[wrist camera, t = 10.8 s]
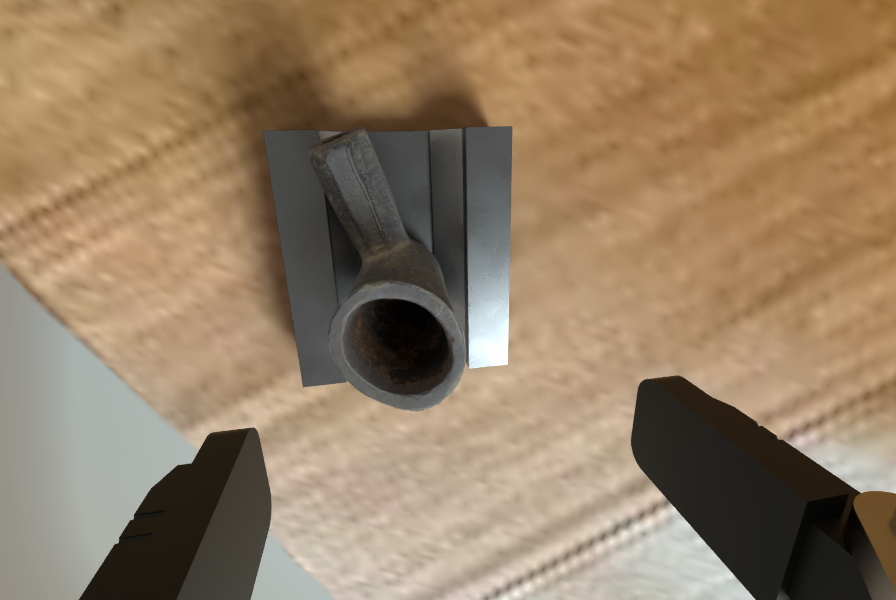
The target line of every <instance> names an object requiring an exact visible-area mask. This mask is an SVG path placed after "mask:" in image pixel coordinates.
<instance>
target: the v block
mask: <svg viewBox="0 0 896 600" xmlns="http://www.w3.org/2000/svg"><path fill="white" fill-rule="evenodd" d="M339 133H341V132H336V131H318V130H280V131H263V134H264V140H265V147H266V153H267V160H268V166H269V172H270V179H271V185H272V192H273V198H274V204H275V211H276V217H277V224H278V230H279V236H280V243H281V249H282V256H283V262H284V268H285V275H286V281H287V288H288V294H289V300H290V307H291V313H292V320H293V326H294V332H295V339H296V345H297V352H298V358H299V364H300V371H301V377H302V384H303V387H309V386H318V385H327V384H336V383H345V382H347V380H346V379H345V378H344V376H343V375H342V374H341V372H340V370H339V369H338V367H337V365H336V364H335V362H334V360H333V358H332V355H331V352H330V348H329V344H328V325H329V322H330V319H331V317H332V315H333V313H334V311H335V309H336V307H337V306H338V304H339V303H340V302H341V301H342V300H343V298H344V297H345V296H346V295H347V294H348V293H349V292H350V290H351V288H352V286H353V285H354V283H355V281H356V279H357V277H358V274H359V272H360V270H361V267H362V263H363V261H362V258H361V256H360V255H359V253H358V251H357V250H356V248H355V246H354V244H353V243H352V241H351V239H350V237H349V235H348V234H347V232H346V230H345V229H344V227H343V225H342V224H341V222H340V220H339V218H338V217H337V215H336V213H335V211H334V209H333V207H332V205H331V203H330V201H329V199H328V197H327V195H326V193H325V192H324V190H323V188H322V186H321V184H320V182H319V180H318V178H317V176H316V174H315V172H314V170H313V167H312V165H311V163H310V159H309V156H308V148H309V147H310V146H311V145H313V144H315V143H316V142H318V141H320V140H323V139H325V138H328V137H330V136H333V135H336V134H339ZM367 133H368V136H369V138H370V140H371V143H372V145H373V147H374V150H375V152H376V155H377V157H378V160H379V162H380V165H381V167H382V169H383V172H384V174H385V176H386V179H387V181H388V184H389V186H390V189H391V191H392V194H393V197H394V200H395V202H396V205H397V208H398V211H399V214H400V216H401V219H402V222H403V225H404V228H405V231H406V233H407V234H408V236H409V238H410V239H412V240H414V241H416V242H418V243H420V244H422V245H424V246H425V247H426V248H427V249H428V250H430V252H431V253H432V254H433V255H434V256H435V258H436V260H437V262H438V263H439V265H440V268H441V270H442V273H443V276H444V281H445V286H446V289H447V294H448V297H449V300H450V302H451V305H452V308H453V311H454V313H455V315H456V316H457V318H458V320H459V322H460V324H461V326H462V329H463V332H464V337H465V343H466V363H467V365H468V367H469V369H470V368H479V367H488V366H497V365H506V364H508V319H509V269H510V219H511V169H512V126H505V127H465V128H462V129H445V130H430V131H389V132H367Z"/></svg>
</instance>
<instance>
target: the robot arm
mask: <svg viewBox="0 0 896 600" xmlns="http://www.w3.org/2000/svg"><path fill="white" fill-rule="evenodd" d="M631 446H632V451H633V455H634V457H635V460H636V462H637V464H638V465H639V467H640V468H641V470H642V471H643V472H644V473H645V474H646V475H647V476H648V478H649V479H650V480H651V481H652V482H653V483H654V484H655V486H656V487H657V488H658V489H659V490H660V491H661V492H662V493H663V495H664V496H665V497H666V498H667V499H668V500H669V501H670V503H671V504H672V505H673V506H674V507H675V508H676V509H677V511H678V512H679V513H680V514H681V515H682V516H683V517H684V518H685V520H686V521H687V522H688V523H689V524H690V525H691V526H692V528H693V529H694V530H695V531H696V532H697V533H698V534H699V536H700V537H701V538H702V539H703V540H704V541H705V542H706V544H707V545H708V546H709V547H710V548H711V549H712V550H713V551H714V553H715V554H716V555H717V556H718V557H719V558H720V559H721V561H722V562H723V563H724V564H725V565H726V566H727V567H728V569H729V570H730V571H731V572H732V573H733V574H734V575H735V577H736V578H737V579H738V580H739V581H740V582H741V583H742V584H743V586H744V587H745V588H746V589H747V590H748V591H749V592H750V594H751V595H752V596H753V597H754V598H755V599H756V600H896V494H895V493H890V492H882V491H869V492H864V493H860V492H858V491H857V490H855V489H854V488H853V487H851V486H850V485H848V484H847V483H845V482H844V481H842V480H841V479H839V478H838V477H836V476H835V475H833V474H832V473H831V472H829V471H828V470H826V469H825V468H823V467H822V466H820V465H819V464H817V463H816V462H814V461H813V460H811V459H810V458H808V457H807V456H806V455H804V454H803V453H801V452H800V451H798V450H797V449H795V448H794V447H792V446H791V445H789V444H788V443H786V442H785V441H783V440H778V439H777V436H776V435H775V434H773V433H772V432H770V431H769V430H767V429H766V428H764V427H763V426H758V424H757V422H756V421H754V420H753V419H751V418H750V417H748V416H747V415H745V414H744V413H742V412H741V411H739V410H738V409H736V408H735V407H733V406H731V405H728V404H726V403H724V402H721V401H719V400H717V399H715V398H712V397H711V396H709V395H708V394H706V393H705V392H704V391H702V390H701V389H699V388H698V387H696V386H695V385H693V384H692V383H691V382H689V381H688V380H686V379H685V378H683V377H681V376H669V377H661V378H653V379H646V380H643V381H642V382H641V383H640V385H639V387H638V392H637V399H636V407H635V414H634V421H633V429H632V436H631ZM270 520H271V492H270V487H269V482H268V477H267V472H266V467H265V463H264V458H263V453H262V448H261V443H260V438H259V435H258V432H257V430H256V429H255V428H245V429H237V430H229V431H221V432H213V433H210V434H209V435H208V436H207V438H206V439H205V441H204V443H203V445H202V446H201V448H200V450H199V452H198V453H197V455H196V457H195V459H194V461H193V462H192V464H184V465H178V466H176V467H175V468H174V469H173V470H172V471H171V472H170V473H168V474H167V475H166V476H165V477H164V478H163V479H162V480H161V481H160V482H158V483H157V484H156V485H155V486H153V487H152V488H151V490H150V491H149V492H148V494H147V496H146V497H145V499H144V500H143V502H142V503H141V505H140V506H139V508H138V510H137V511H136V513H135V514H134V520H130V522H129V523H128V525H127V526H126V528H125V529H124V531H123V533H122V534H121V536H120V537H119V543H118V544H115V545H114V546H113V548H112V549H111V551H110V553H109V554H108V556H107V557H106V559H105V560H104V562H103V563H102V565H101V567H100V568H99V570H98V571H97V573H96V574H95V576H94V577H93V579H92V581H91V582H90V584H89V585H88V587H87V588H86V590H85V591H84V593H83V594H82V596H81V597H80V599H79V600H250V599H251V595H252V592H253V588H254V584H255V580H256V576H257V573H258V568H259V565H260V561H261V557H262V553H263V550H264V545H265V541H266V538H267V534H268V531H269V526H270Z"/></svg>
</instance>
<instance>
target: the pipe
mask: <svg viewBox="0 0 896 600" xmlns="http://www.w3.org/2000/svg"><path fill="white" fill-rule="evenodd" d="M308 156H309V159H310V163H311V165H312V167H313V170H314V172H315V174H316V176H317V178H318V180H319V182H320V184H321V186H322V188H323V190H324V192H325V193H326V195H327V197H328V199H329V201H330V203H331V205H332V207H333V209H334V211H335V213H336V215H337V217H338V218H339V220H340V222H341V224H342V225H343V227H344V229H345V230H346V232H347V234H348V235H349V237H350V239H351V241H352V243H353V244H354V246H355V248H356V250H357V251H358V253H359V255H360V256H361V258H362V261H363V263H362V267H361V270H360V272H359V274H358V277H357V279H356V281H355V283H354V285H353V286H352V288H351V290H350V292H349V293H348V294H347V295H346V296H345V297H344V298H343V300H342V301H341V302H340V303H339V304H338V306H337V307H336V309H335V311H334V313H333V315H332V317H331V319H330V322H329V325H328V344H329V348H330V352H331V355H332V358H333V360H334V362H335V364H336V365H337V367H338V369H339V370H340V372H341V374H342V375H343V376H344V378H345V379H346V380H347V381H348V382H349V383H350V384H352V385H353V386H354V387H355V388H356V389H358V390H359V391H360V392H362V393H363V394H365V395H366V396H368V397H371V398H372V399H374V400H376V401H378V402H381V403H383V404H386V405H389V406H391V407H394V408H397V409H401V410H410V411H423V410H424V409H427V408H431V407H433V406H435V405H437V404H439V403H440V402H442V401H443V400H444V399H445V398H446V397H447V396H448V395H450V394H451V393H452V392H453V391H454V389H455V388H456V386H457V385H458V383H459V382H460V378H461V376H462V373H463V370H464V366H465V361H466V343H465V337H464V332H463V329H462V326H461V324H460V322H459V320H458V318H457V316H456V315H455V313H454V311H453V308H452V305H451V302H450V300H449V297H448V294H447V289H446V286H445V281H444V276H443V273H442V270H441V268H440V265H439V263H438V262H437V260H436V258H435V256H434V255H433V254H432V253H431V252H430V250H428V249H427V248H426V247H425V246H424V245H422V244H420V243H418V242H416V241H414V240H412V239H410V238H409V236H408V234H407V233H406V231H405V228H404V225H403V222H402V219H401V216H400V214H399V211H398V208H397V205H396V202H395V200H394V197H393V194H392V191H391V189H390V186H389V184H388V181H387V179H386V176H385V174H384V172H383V169H382V167H381V165H380V162H379V160H378V157H377V155H376V152H375V150H374V147H373V145H372V143H371V140H370V138H369V136H368V133H367V131H366V129H365V128H364V127H363V126H362V127H355V128H352V129H349V130H347V131H344V132H341V133H339V134H336V135H333V136H330V137H328V138H325V139H323V140H320V141H318V142H316V143H315V144H313V145H311V146H310V147H309V148H308Z"/></svg>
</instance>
